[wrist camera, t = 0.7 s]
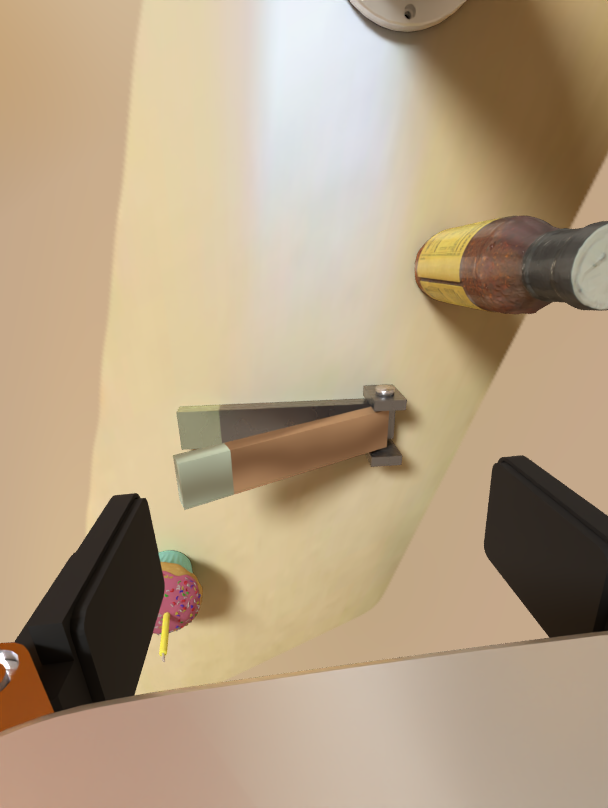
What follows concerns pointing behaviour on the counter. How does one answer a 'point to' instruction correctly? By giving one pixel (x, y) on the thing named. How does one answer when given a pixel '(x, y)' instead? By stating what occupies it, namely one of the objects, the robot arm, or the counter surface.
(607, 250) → the sauce bottle
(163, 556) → the cupcake
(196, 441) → the base
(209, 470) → the bar
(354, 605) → the counter surface
